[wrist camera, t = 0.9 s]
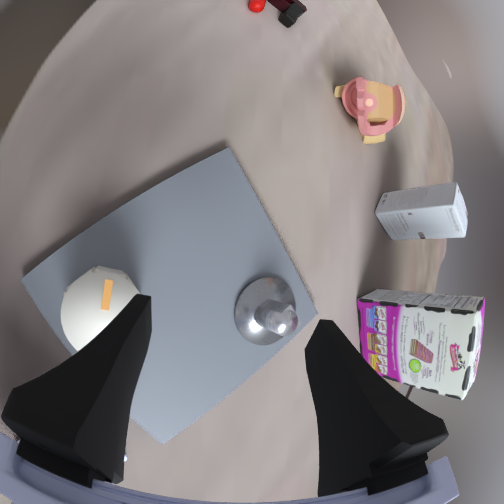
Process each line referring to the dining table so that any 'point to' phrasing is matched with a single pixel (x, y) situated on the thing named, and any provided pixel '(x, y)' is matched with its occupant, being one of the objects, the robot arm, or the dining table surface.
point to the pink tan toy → (372, 107)
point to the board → (182, 286)
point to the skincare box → (423, 212)
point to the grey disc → (266, 311)
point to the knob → (94, 303)
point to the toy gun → (281, 9)
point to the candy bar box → (422, 338)
